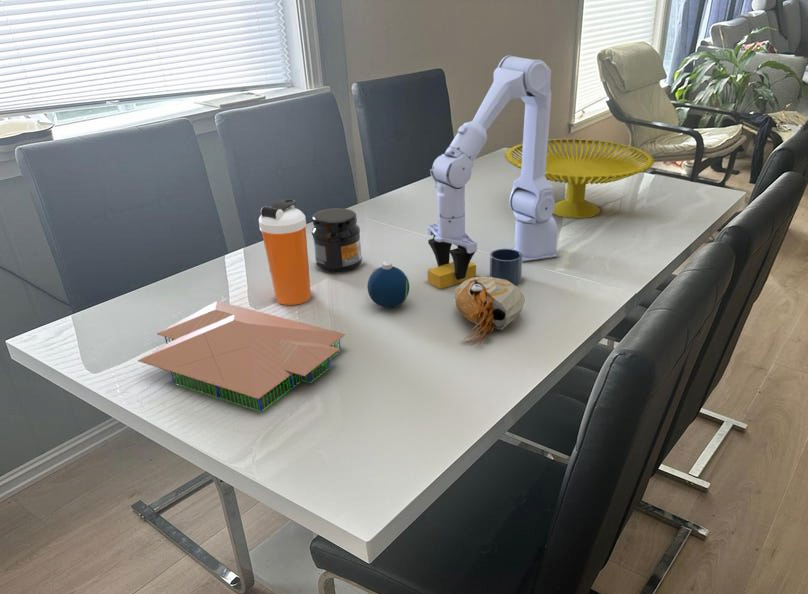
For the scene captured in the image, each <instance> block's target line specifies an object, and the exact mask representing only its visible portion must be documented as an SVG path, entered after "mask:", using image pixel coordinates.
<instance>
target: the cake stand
mask: <svg viewBox="0 0 808 594" xmlns="http://www.w3.org/2000/svg"><path fill="white" fill-rule="evenodd" d="M561 142H562V143H561ZM580 142H581V143H580ZM586 142H587V145H586ZM593 142H594V143H593ZM550 144H551V146H550ZM562 144H563V147H562ZM580 144H581V145H580ZM592 144H593V146H592ZM574 145H575V148H574ZM598 145H599V146H598ZM604 145H605V146H604ZM617 145H618V146H617ZM568 146H569V150H568ZM579 146H580V147H579ZM585 146H586V150H585ZM591 146H592V149H591ZM597 146H598V147H597ZM610 146H611V147H610ZM551 147H552V148H553V149H552V148H551ZM603 147H604V148H603ZM609 147H610V148H609ZM597 148H598V149H597ZM615 148H616V149H615ZM522 149H523V142H522V143H520V144H516V145H513V146H512V147H510V148H508V149H507V150H505V152H504V159H505V160H506V162H508V163H509V164H511V165H512V166H513V167H516V168H518V169H520V170H521V166H522ZM563 149H564V150H563ZM579 149H580V152H579ZM590 149H591V152H590ZM596 149H597V150H596ZM614 149H615V150H614ZM620 149H621V150H620ZM553 150H554V151H553ZM558 150H559V151H558ZM574 150H575V151H574ZM607 150H608V151H607ZM613 150H614V151H613ZM584 151H585V154H584ZM595 151H596V152H595ZM606 151H607V152H606ZM612 151H613V152H612ZM600 152H601V153H600ZM611 152H612V153H611ZM579 153H580V154H579ZM589 153H590V154H589ZM594 153H595V154H594ZM605 153H606V154H605ZM654 165H655V158H654V157H653V155H651V153H648V151H645V150H643V149H641V148H637V147H635V146H631V145H626V143H625V144H624V143H620V142H614V141H608V140H602V139H599V140H598V139H588V138H586V139H585V138H553V139H550V138H548V146H547V159H546V172H545V177H546V179H547V180H548V181H549V182H555V183H557V182H559V183H561V184H562V183H564V184H566V192H565V193H566V194H565V195H566V196H565V198H564V199H562V200H560V201H556V202H555V209H554V212H553V214H554V215H555V216H559V217H562V218H568V219H569V218H570V219H587V218H591V217H595V216H597V215H599V214H600V211H601V210H600V208H599V207H598V206H597V205H595V204H593V203H591V202H589V201H588V200H586V199H585V197H586V187H587V185H589V184H590V185H594V184H595V185H598V184H601V185H602V184H604V183H605V184H608V183H613V182H614V183H615V182H617V181H618V182H619V181H621V180H623V179H626V178H629V177H632V176H635V175H637V174H640V173H642V172H645V171H647V170H649V169H651V167H653V166H654Z"/></svg>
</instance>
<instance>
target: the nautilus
mask: <svg viewBox="0 0 808 594" xmlns="http://www.w3.org/2000/svg"><path fill="white" fill-rule="evenodd" d="M525 295H526V294H524V293H523V292H522V290H521V289H520V288H519V287H517V285H514V284H512V283H511V282H509V281H507V280H504V279H498V278H493V277H489V276H479V277H478V276H476V277H474V278H471V279H468V280H466V281H463V282H460V283H459V285H458V286H457V287H455V289H454V293H453V299H454V303H455V306H456V308H457V310H458V311H459V313H460V314H461V316H463V317H462V318H465V319H466V320H467V321H468V322H470V323H472V324H476V325H475V326H474V327H473V328H471V331H472V330H474V331H473V332H471V334H469V335H467V336H466V337H464V338H463V339H464V340H465V339H469V340H468V341H465V343H470V342H474V343H472V344H471V345H470V347H472V346H474V345H475V344H477V343H478V342H479V341H480V342H479V345H481V344H482V339H483V338H484V337H485V336H486V340H488V338H489V335H490V334H491V333H492V331H494V329H497V330H499V331H503V330H504V329H505V328H506V327H507V326H508V325H509V324H510V323H511V322H512V321H513V320H514V319H516V318H517V316H518V315H519V314H520V313H521V311H522V310H523V308H524V307H525V304H526V296H525ZM478 326H479V327H478ZM478 330H479V331H478ZM488 332H489V333H488ZM481 333H482V335H481ZM487 333H488V334H487ZM479 335H481V336H480V337H478V336H479ZM477 337H478V338H477Z"/></svg>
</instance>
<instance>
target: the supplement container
mask: <svg viewBox="0 0 808 594" xmlns="http://www.w3.org/2000/svg"><path fill="white" fill-rule="evenodd" d="M357 223H358V218H357V213H356V212H355V211H353V210H351V209H348V208H338V207H337V208H336V207H334V208H326V209H322V210H318V211H317V212H315V213H314V214H313V215H312V225H313V228H312V229H311V235H312V240H313V247H314V249H313V250H314V254H315V266H316V267H317V268H318V269H320V270H321V271H324V272H326V273H330V274H331V273H332V274H341V273H348V272H351V271H354V270H356V269H358V268H359V267H360V266H361V265H362V262H363V256H362V246H361V228H360V226H359V225H358V224H357Z"/></svg>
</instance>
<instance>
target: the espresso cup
mask: <svg viewBox="0 0 808 594" xmlns="http://www.w3.org/2000/svg"><path fill="white" fill-rule="evenodd" d="M488 273H489V274H488V275H489V276H488V277H493V278H498V279H504V280H507V281H509V282H511V283H512V284H514V285H515V286H518V285H519V284H520V283H522V277H523V276H522V275H523V274H522V273H523V262H522V253H521V252H519V251H517V250H513V249H509V248H498V249H494V250H492V251H491V252H490V253H489V272H488Z"/></svg>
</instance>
